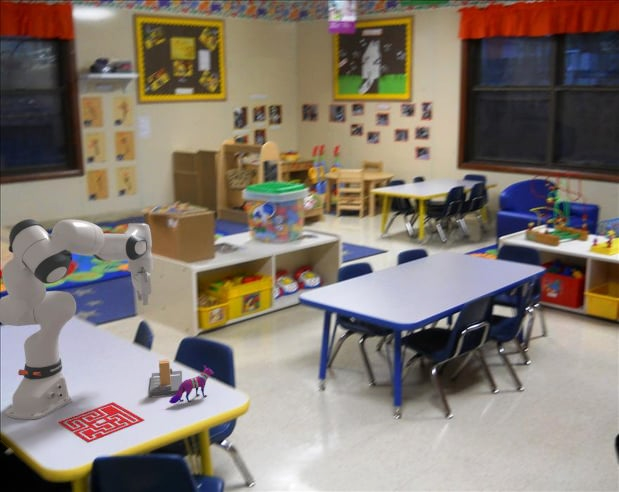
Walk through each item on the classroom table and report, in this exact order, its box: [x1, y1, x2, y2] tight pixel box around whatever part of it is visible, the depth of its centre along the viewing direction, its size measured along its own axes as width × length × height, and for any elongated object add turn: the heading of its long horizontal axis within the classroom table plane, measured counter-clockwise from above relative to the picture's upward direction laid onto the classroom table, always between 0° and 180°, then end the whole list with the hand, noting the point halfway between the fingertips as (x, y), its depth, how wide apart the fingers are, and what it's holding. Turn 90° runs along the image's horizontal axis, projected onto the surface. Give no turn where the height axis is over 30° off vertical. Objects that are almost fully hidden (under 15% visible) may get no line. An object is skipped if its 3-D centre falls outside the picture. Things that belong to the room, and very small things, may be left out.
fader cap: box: [158, 358, 171, 386], centre depth 259 cm, size 4×4×9 cm
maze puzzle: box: [58, 401, 145, 443], centre depth 237 cm, size 20×20×1 cm
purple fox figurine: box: [168, 364, 215, 404], centre depth 251 cm, size 4×18×10 cm, turn 130°
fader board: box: [149, 367, 183, 398], centre depth 264 cm, size 18×11×3 cm, turn 9°
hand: (142, 302), depth 269 cm, fingers open, 8 cm apart
